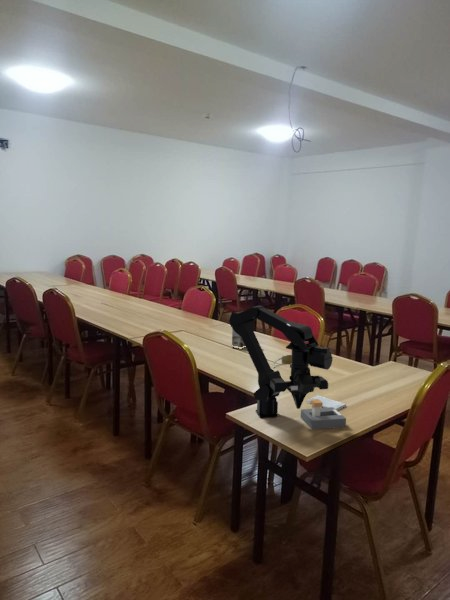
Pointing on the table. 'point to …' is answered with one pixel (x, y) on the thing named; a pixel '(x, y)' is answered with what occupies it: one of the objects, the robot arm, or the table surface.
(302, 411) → the breaker panel
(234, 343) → the coffee box
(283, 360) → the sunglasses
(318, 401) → the lever
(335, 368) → the table surface
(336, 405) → the hard drive
